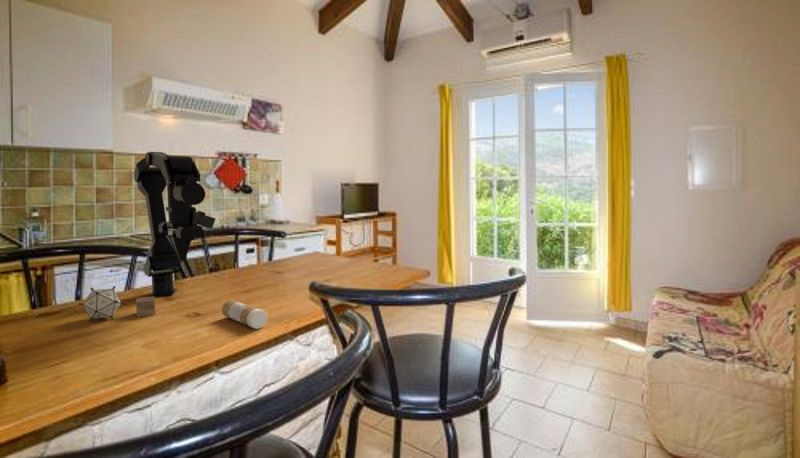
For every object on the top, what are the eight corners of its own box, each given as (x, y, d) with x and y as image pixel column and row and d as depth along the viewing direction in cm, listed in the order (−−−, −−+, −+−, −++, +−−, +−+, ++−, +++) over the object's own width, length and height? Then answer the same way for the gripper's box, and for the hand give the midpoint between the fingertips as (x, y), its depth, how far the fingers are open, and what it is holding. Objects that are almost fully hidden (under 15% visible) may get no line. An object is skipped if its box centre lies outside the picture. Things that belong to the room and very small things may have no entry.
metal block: (137, 313, 108) (136, 298, 108) (155, 310, 110) (154, 296, 110) (136, 317, 105) (135, 302, 104) (155, 315, 107) (154, 300, 106)
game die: (105, 335, 102) (93, 311, 95) (78, 321, 103) (64, 296, 97) (135, 309, 109) (126, 285, 102) (109, 296, 110) (98, 271, 103)
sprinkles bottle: (240, 306, 108) (271, 317, 100) (229, 320, 106) (259, 333, 98) (229, 295, 105) (260, 306, 97) (217, 310, 103) (247, 322, 95)
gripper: (224, 204, 109) (227, 262, 111) (198, 201, 122) (200, 252, 124) (179, 205, 101) (182, 267, 103) (156, 202, 114) (159, 257, 116)
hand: (183, 260), depth 112 cm, fingers closed
